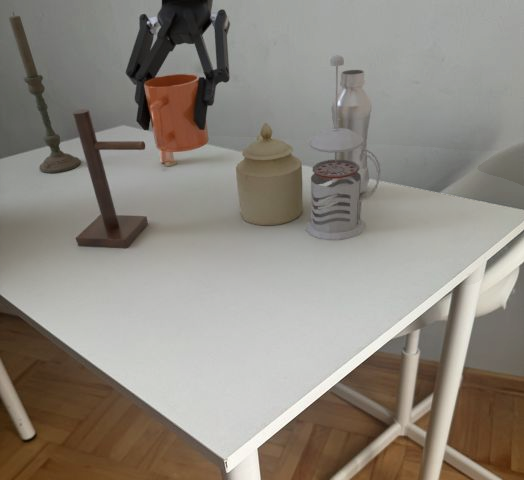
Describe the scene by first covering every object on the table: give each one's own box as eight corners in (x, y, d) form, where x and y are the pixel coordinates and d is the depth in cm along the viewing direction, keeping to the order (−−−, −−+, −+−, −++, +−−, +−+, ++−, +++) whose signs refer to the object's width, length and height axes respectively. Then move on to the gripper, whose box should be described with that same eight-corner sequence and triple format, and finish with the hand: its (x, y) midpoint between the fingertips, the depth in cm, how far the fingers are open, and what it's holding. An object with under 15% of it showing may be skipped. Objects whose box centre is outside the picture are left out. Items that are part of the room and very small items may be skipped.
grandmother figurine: (153, 162, 120) (141, 101, 112) (168, 157, 121) (157, 97, 113) (170, 170, 115) (159, 107, 107) (185, 165, 116) (175, 103, 108)
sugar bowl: (218, 204, 98) (207, 119, 89) (269, 188, 103) (263, 105, 93) (262, 232, 88) (254, 138, 79) (316, 213, 92) (314, 122, 83)
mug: (167, 134, 88) (156, 74, 82) (215, 134, 86) (207, 72, 80) (136, 161, 78) (122, 95, 73) (189, 162, 76) (178, 94, 71)
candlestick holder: (84, 157, 126) (42, 7, 107) (76, 171, 119) (29, 12, 100) (45, 161, 126) (-4, 11, 107) (35, 175, 119) (-19, 17, 100)
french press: (313, 211, 93) (310, 48, 77) (380, 215, 90) (392, 46, 74) (298, 237, 86) (292, 63, 70) (371, 243, 82) (382, 62, 67)
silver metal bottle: (362, 201, 95) (367, 77, 82) (326, 197, 97) (326, 76, 85) (372, 187, 99) (379, 67, 87) (337, 184, 102) (339, 67, 89)
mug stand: (77, 245, 89) (37, 120, 77) (102, 222, 96) (69, 103, 84) (152, 249, 86) (123, 119, 74) (172, 224, 93) (148, 102, 81)
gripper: (262, -4, 82) (245, 137, 80) (137, 4, 87) (117, 138, 85) (250, -44, 75) (231, 110, 73) (114, -33, 80) (92, 112, 78)
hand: (170, 125), depth 79 cm, fingers closed on mug, 8 cm apart
